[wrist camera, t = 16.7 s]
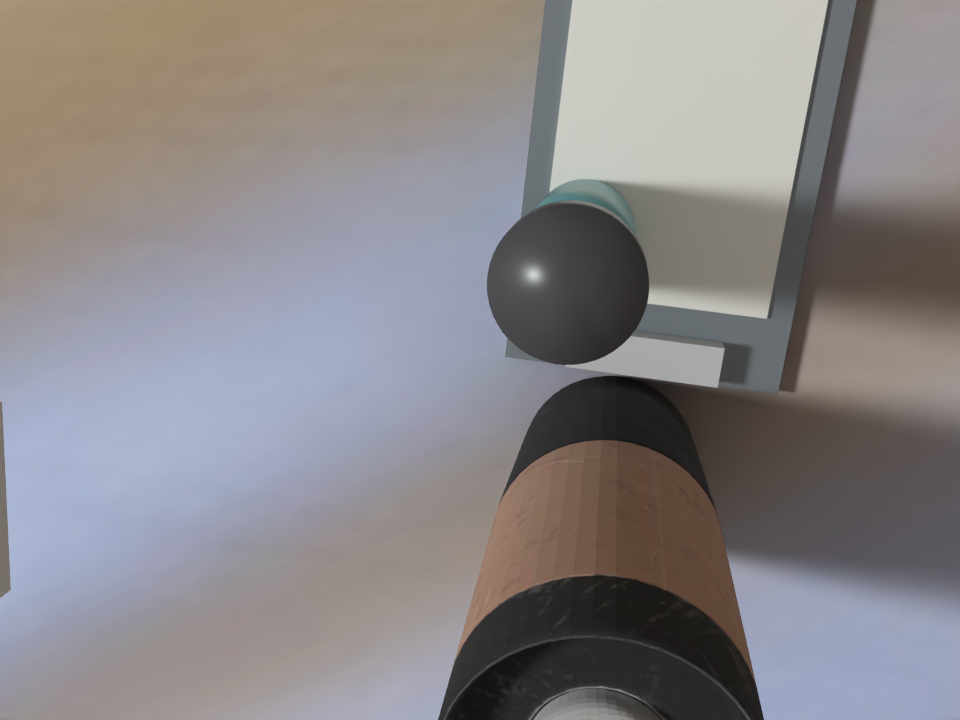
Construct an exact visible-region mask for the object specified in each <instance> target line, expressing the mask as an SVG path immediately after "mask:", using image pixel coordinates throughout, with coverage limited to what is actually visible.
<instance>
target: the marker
mask: <svg viewBox="0 0 960 720" xmlns="http://www.w3.org/2000/svg"><path fill="white" fill-rule="evenodd" d="M487 292H488V299H489V304H490V308H491V311H492V314H493V316H494V318H495V320H496V322H497V324H498V326H499V327H500V329H501V330H502V332H503V333H504V334H505V335H506V337H507V338H508V339H509V340H510V341H511V342H512V343H513V344H514V345H515V346H517V347H518V348H519V349H521V350H522V351H523V352H525V353H527V354H528V355H530V356H532V357H534V358H537V359H539V360H542V361H545V362H549V363H553V364H561V365H576V364H583V363H588V362H591V361H595V360H598V359H600V358H602V357H605V356H607V355H608V354H610V353H612V352H613V351H615V350H616V349H617V348H619V347H620V346H621V345H623V344H624V343H625V342H626V341H627V340H628V339H629V338H630V336H631V335H632V334H633V332H634V331H635V330H636V328H637V327H638V325H639V323H640V321H641V320H642V317H643V315H644V312H645V310H646V306H647V302H648V296H649V275H648V268H647V263H646V258H645V255H644V252H643V249H642V246H641V244H640V242H639V240H638V238H637V234H636V228H635V221H634V217H633V213H632V211H631V208H630V206H629V204H628V203H627V201H626V200H625V199H624V197H623V196H622V195H621V194H620V193H619V192H618V191H617V190H615V189H614V188H613V187H611V186H609V185H607V184H605V183H603V182H600V181H596V180H591V179H578V180H572V181H569V182H566V183H564V184H561V185H559V186H558V187H556V188H555V189H553V190H552V191H551V192H550V193H549V194H548V195H547V196H546V197H545V198H544V199H543V200H542V201H541V202H540V204H539V205H538V206H537V207H536V208H535V209H534V210H532V211H531V212H529V213H528V214H526V215H525V216H523V217H522V218H521V219H520V220H519V221H518V222H516V224H515V225H514V226H513V227H512V228H511V229H510V230H509V231H508V232H507V233H506V235H505V236H504V237H503V238H502V240H501V241H500V243H499V244H498V246H497V248H496V250H495V252H494V254H493V257H492V260H491V262H490V266H489V271H488V278H487Z"/></svg>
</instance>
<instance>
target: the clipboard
mask: <svg viewBox="0 0 960 720" xmlns="http://www.w3.org/2000/svg"><path fill="white" fill-rule="evenodd" d="M856 2H857V0H546V1H545V10H544V19H543V28H542V37H541V45H540V54H539V63H538V72H537V81H536V90H535V99H534V108H533V116H532V125H531V134H530V143H529V152H528V161H527V170H526V179H525V187H524V196H523V205H522V214H521V218H522V217H523V216H525V215H526V214H528V213H529V212H531V211H532V210H534V209H535V208H536V207H537V206H538V205H539V204H540V202H541V201H542V200H543V199H544V198H545V197H546V196H547V195H548V194H549V193H550V192H551V191H552V190H553V189H555V188H556V187H558V186H559V185H561V184H564V183H566V182H569V181H572V180H578V179H591V180H596V181H600V182H603V183H605V184H607V185H609V186H611V187H613V188H614V189H615V190H617V191H618V192H619V193H620V194H621V195H622V196H623V197H624V199H625V200H626V201H627V203H628V204H629V206H630V208H631V211H632V213H633V217H634V221H635V228H636V234H637V238H638V240H639V242H640V244H641V246H642V249H643V252H644V255H645V258H646V263H647V268H648V275H649V296H648V302H647V306H646V310H645V312H644V315H643V317H642V320H641V321H640V323H639V325H638V327H637V328H636V330H635V331H634V332H633V334H632V335H631V336H630V338H629V339H628V340H627V341H626V342H625V343H624V344H623V345H621V346H620V347H619V348H617V349H616V350H615V351H613V352H612V353H610V354H608V355H607V356H605V357H602V358H600V359H598V360H595V361H591V362H588V363H583V364H576V365H565V367H570V368H577V369H585V370H592V371H599V372H606V373H614V374H621V375H628V376H635V377H643V378H650V379H657V380H664V381H671V382H679V383H686V384H693V385H700V386H708V387H715V388H718V386H722V387H730V388H737V389H744V390H751V391H759V392H766V393H773V394H778V391H779V386H780V381H781V376H782V371H783V366H784V361H785V356H786V351H787V346H788V341H789V336H790V331H791V326H792V321H793V316H794V311H795V306H796V301H797V296H798V291H799V286H800V281H801V276H802V271H803V266H804V261H805V256H806V251H807V246H808V241H809V237H810V232H811V227H812V222H813V217H814V212H815V207H816V202H817V197H818V192H819V187H820V182H821V177H822V172H823V167H824V162H825V157H826V152H827V147H828V142H829V137H830V132H831V127H832V122H833V117H834V112H835V107H836V102H837V97H838V92H839V87H840V82H841V77H842V72H843V67H844V62H845V57H846V52H847V47H848V42H849V37H850V32H851V27H852V22H853V17H854V12H855V7H856ZM505 357H512V358H519V359H526V360H534V361H541V362H545V361H542V360H539V359H537V358H534V357H532V356H530V355H528V354H527V353H525V352H523V351H522V350H521V349H519V348H518V347H517V346H515V345H514V344H513V343H512V342H511V341H510V340H509V339H508V338H507V347H506V356H505ZM548 363H549V362H548Z"/></svg>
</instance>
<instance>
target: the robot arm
mask: <svg viewBox="0 0 960 720" xmlns="http://www.w3.org/2000/svg"><path fill="white" fill-rule="evenodd" d="M9 590H11V587H10V565H9V544H8V522H7V501H6V479H5V458H4V437H3V415H2V402H0V598H1V597H2V596H3V595H4V594H6V593H7V592H8V591H9Z"/></svg>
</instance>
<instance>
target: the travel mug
mask: <svg viewBox="0 0 960 720" xmlns="http://www.w3.org/2000/svg"><path fill="white" fill-rule="evenodd" d="M438 720H764V718H763V714H762V709H761V705H760V700H759V696H758V691H757V687H756V683H755V678H754V674H753V669H752V665H751V660H750V656H749V651H748V647H747V642H746V638H745V633H744V629H743V625H742V620H741V616H740V611H739V607H738V602H737V598H736V593H735V589H734V584H733V580H732V575H731V571H730V567H729V562H728V558H727V553H726V549H725V544H724V540H723V535H722V531H721V527H720V522H719V519H718V515H717V512H716V509H715V506H714V503H713V500H712V497H711V494H710V491H709V488H708V485H707V481H706V478H705V475H704V472H703V469H702V466H701V463H700V460H699V457H698V454H697V451H696V448H695V445H694V442H693V440H692V437H691V434H690V432H689V429H688V427H687V425H686V423H685V421H684V419H683V418H682V416H681V414H680V413H679V412H678V410H677V409H676V408H675V406H674V405H673V404H672V403H671V402H670V401H669V400H668V399H667V398H665V397H664V396H663V395H662V394H660V393H659V392H658V391H656V390H654V389H653V388H651V387H649V386H647V385H645V384H643V383H640V382H638V381H634V380H631V379H627V378H621V377H610V376H603V377H593V378H589V379H584V380H581V381H578V382H575V383H573V384H571V385H569V386H567V387H565V388H563V389H561V390H560V391H558V392H557V393H555V394H554V395H553V396H552V397H551V398H550V399H548V400H547V401H546V402H545V404H544V405H543V406H542V407H541V408H540V409H539V411H538V412H537V414H536V416H535V417H534V419H533V421H532V423H531V425H530V427H529V429H528V431H527V434H526V436H525V438H524V441H523V443H522V446H521V449H520V451H519V454H518V456H517V459H516V462H515V464H514V467H513V469H512V472H511V475H510V477H509V480H508V482H507V485H506V488H505V490H504V493H503V495H502V498H501V501H500V503H499V506H498V509H497V512H496V516H495V519H494V523H493V526H492V530H491V533H490V537H489V540H488V544H487V548H486V551H485V555H484V558H483V562H482V565H481V569H480V573H479V576H478V580H477V583H476V587H475V590H474V594H473V598H472V601H471V605H470V608H469V612H468V615H467V619H466V623H465V626H464V630H463V633H462V637H461V641H460V644H459V648H458V651H457V655H456V658H455V662H454V666H453V669H452V673H451V676H450V680H449V683H448V687H447V690H446V694H445V697H444V701H443V705H442V708H441V712H440V715H439V719H438Z"/></svg>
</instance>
